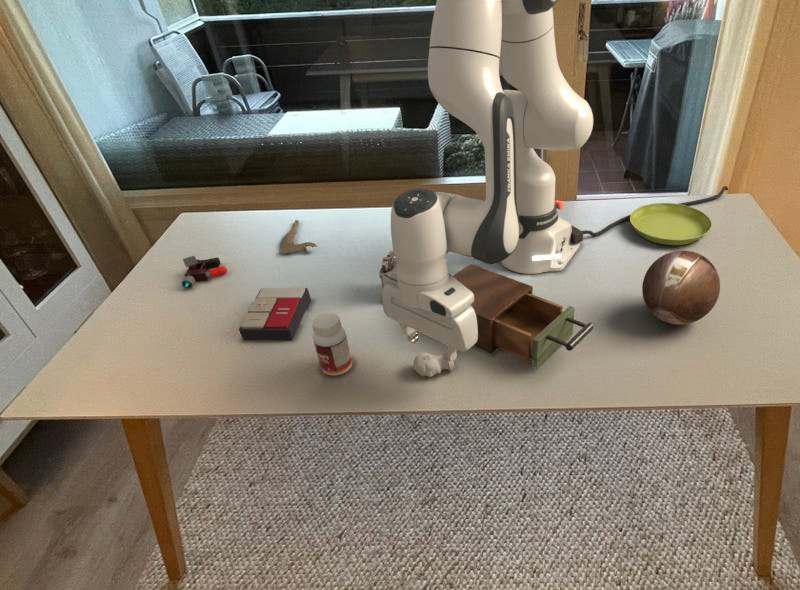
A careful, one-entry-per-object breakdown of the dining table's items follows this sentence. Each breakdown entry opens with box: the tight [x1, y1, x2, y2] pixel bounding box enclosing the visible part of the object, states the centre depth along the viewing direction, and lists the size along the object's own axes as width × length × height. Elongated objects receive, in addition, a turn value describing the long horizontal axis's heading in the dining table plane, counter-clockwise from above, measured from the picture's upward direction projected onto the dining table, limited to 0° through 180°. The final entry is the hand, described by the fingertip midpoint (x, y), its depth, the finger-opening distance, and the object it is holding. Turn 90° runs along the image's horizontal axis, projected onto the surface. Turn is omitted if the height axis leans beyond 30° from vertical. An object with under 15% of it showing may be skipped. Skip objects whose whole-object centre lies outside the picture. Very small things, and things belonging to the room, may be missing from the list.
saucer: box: [629, 202, 713, 246], centre depth 149 cm, size 21×21×3 cm
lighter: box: [378, 249, 397, 289], centre depth 129 cm, size 8×3×10 cm, turn 168°
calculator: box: [238, 287, 312, 341], centre depth 124 cm, size 11×4×15 cm
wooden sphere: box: [641, 249, 721, 326], centre depth 116 cm, size 15×15×15 cm
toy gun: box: [181, 255, 228, 290], centre depth 139 cm, size 10×12×5 cm
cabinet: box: [452, 263, 533, 355], centre depth 119 cm, size 16×14×8 cm
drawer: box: [493, 293, 594, 369], centre depth 113 cm, size 21×13×7 cm, turn 52°
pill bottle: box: [311, 312, 353, 376], centre depth 109 cm, size 6×6×11 cm
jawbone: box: [279, 219, 318, 255], centre depth 154 cm, size 9×20×2 cm, turn 29°
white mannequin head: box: [413, 352, 455, 378], centre depth 109 cm, size 4×8×5 cm
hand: (431, 349), depth 106 cm, fingers open, 8 cm apart
